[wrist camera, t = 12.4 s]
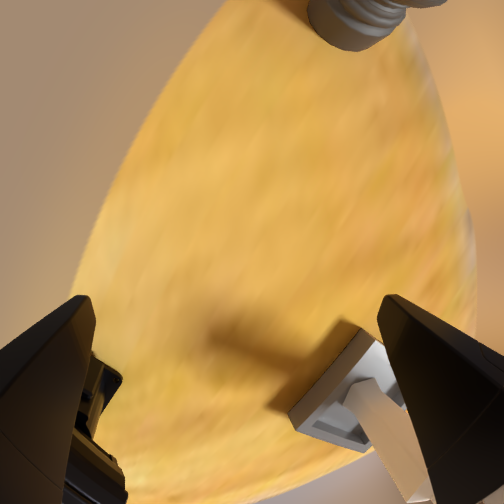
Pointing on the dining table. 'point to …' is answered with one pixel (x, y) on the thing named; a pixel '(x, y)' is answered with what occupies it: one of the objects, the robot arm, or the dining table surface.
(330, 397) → the gray tray
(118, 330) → the dining table surface
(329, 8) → the candle holder
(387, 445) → the perfume bottle
